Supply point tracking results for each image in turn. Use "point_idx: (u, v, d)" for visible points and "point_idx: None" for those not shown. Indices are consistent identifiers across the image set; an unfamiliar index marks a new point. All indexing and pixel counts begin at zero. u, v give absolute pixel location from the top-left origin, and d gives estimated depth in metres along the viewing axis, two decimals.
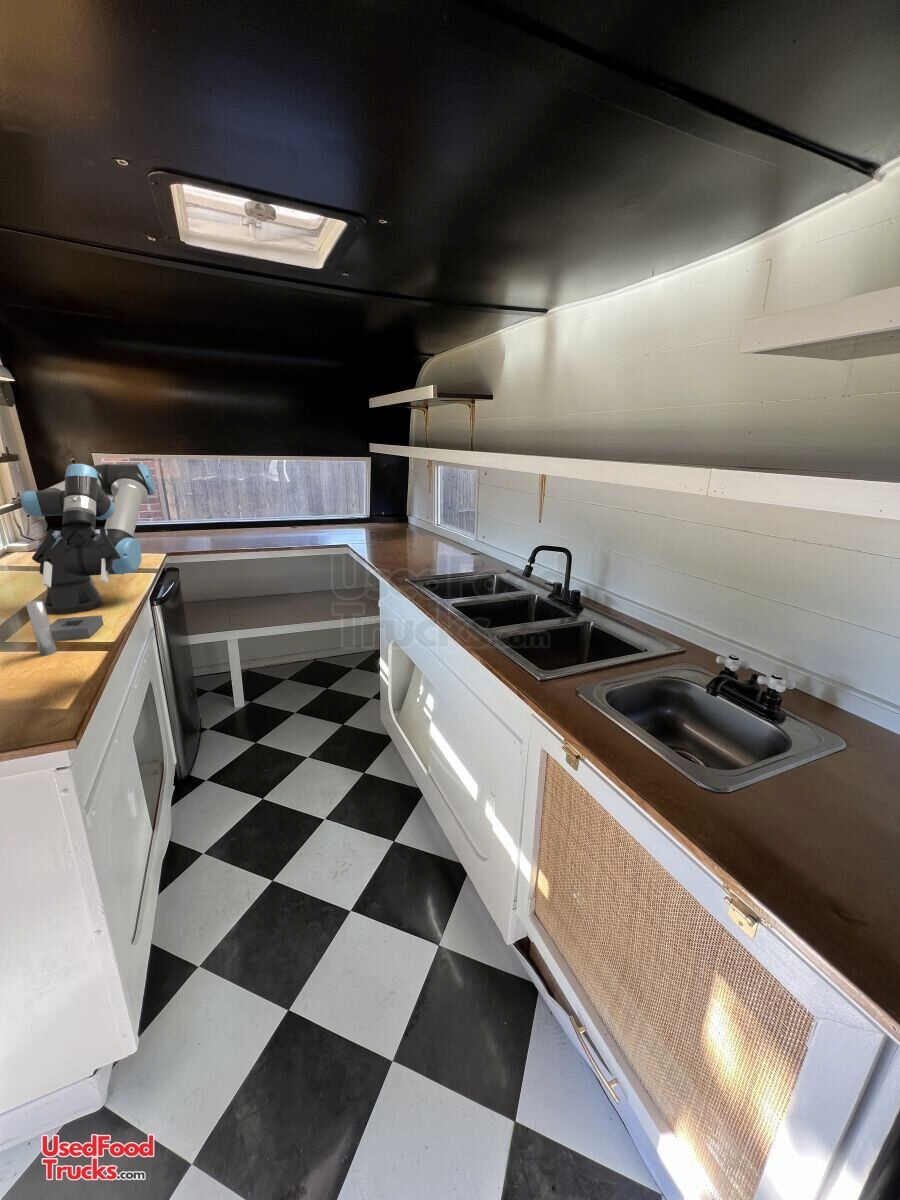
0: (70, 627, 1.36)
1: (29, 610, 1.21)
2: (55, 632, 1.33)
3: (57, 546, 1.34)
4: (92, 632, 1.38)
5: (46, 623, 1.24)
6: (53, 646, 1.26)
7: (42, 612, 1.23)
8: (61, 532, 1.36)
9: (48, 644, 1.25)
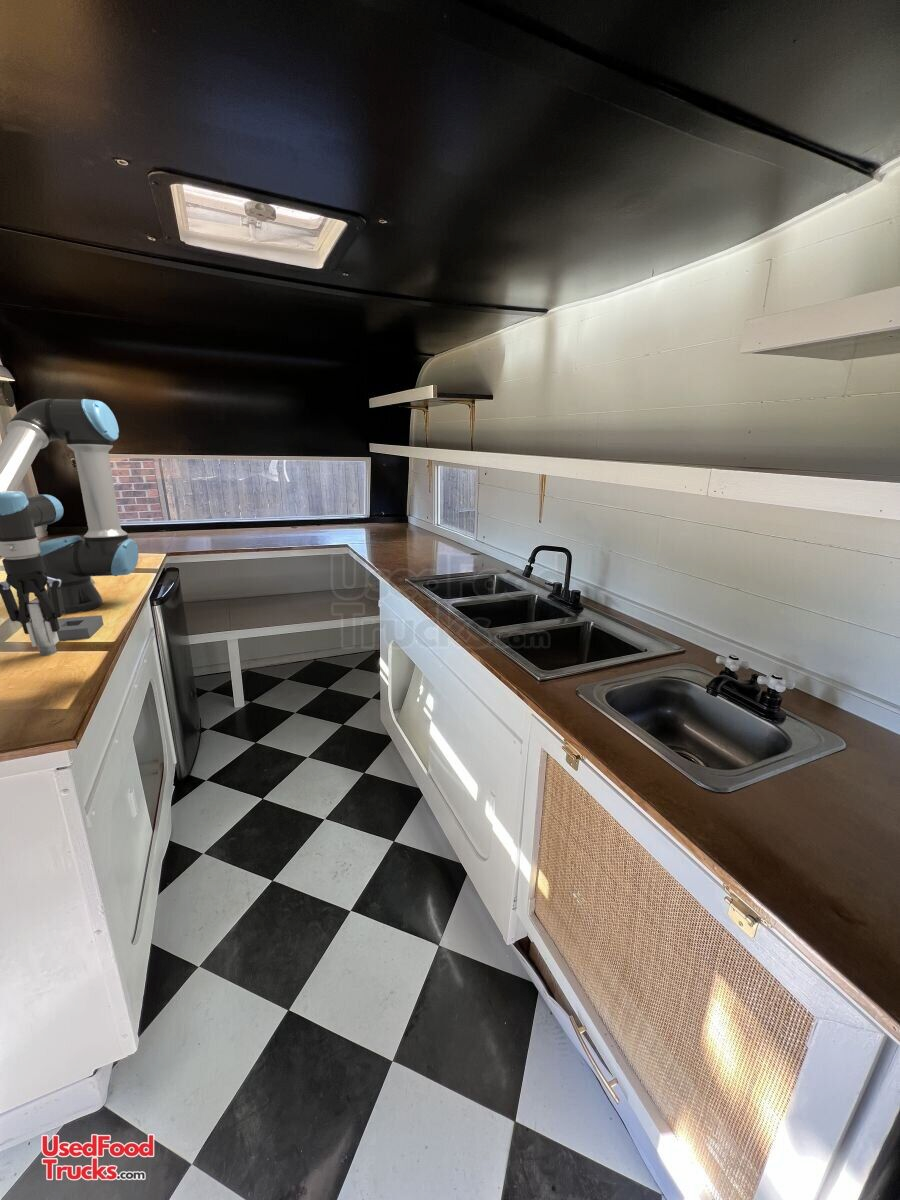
0: (70, 627, 1.36)
1: (29, 610, 1.21)
2: None
3: (21, 601, 1.21)
4: (92, 632, 1.38)
5: None
6: (53, 646, 1.26)
7: (42, 612, 1.23)
8: (9, 582, 1.19)
9: (48, 644, 1.25)
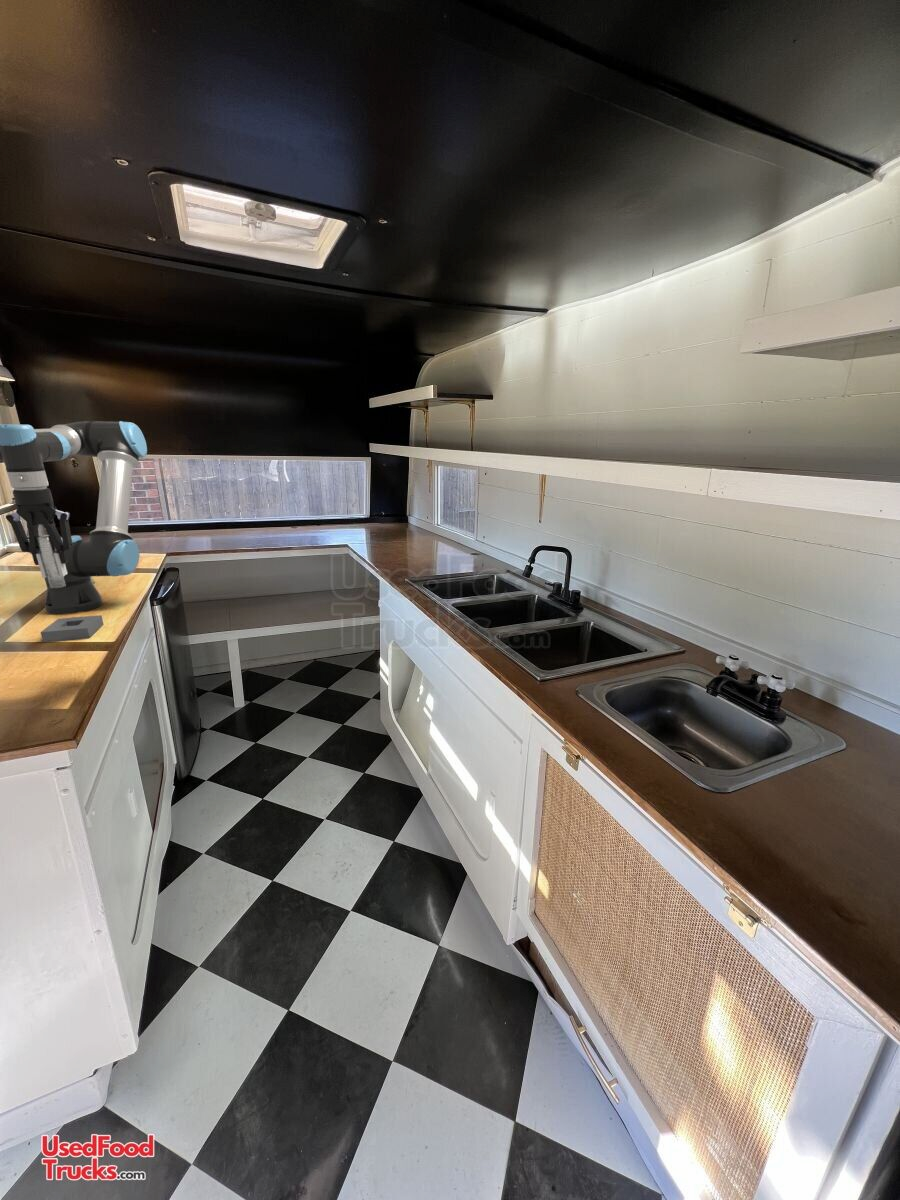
0: (70, 627, 1.36)
1: (39, 543, 1.27)
2: (55, 632, 1.33)
3: (31, 532, 1.26)
4: (92, 632, 1.38)
5: None
6: (62, 579, 1.32)
7: (51, 546, 1.29)
8: (19, 513, 1.24)
9: (58, 577, 1.31)
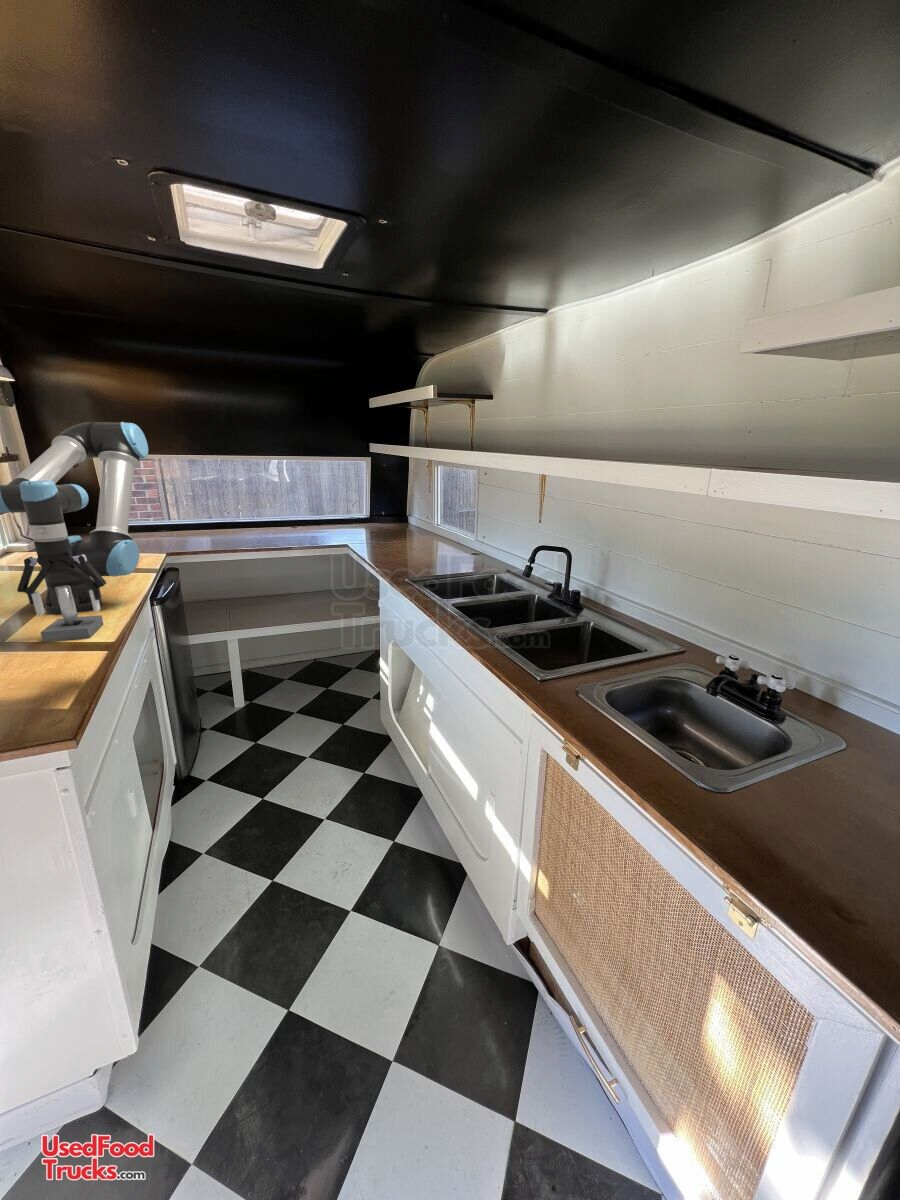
0: (70, 627, 1.36)
1: (58, 594, 1.34)
2: (55, 632, 1.33)
3: (39, 577, 1.32)
4: (92, 632, 1.38)
5: (73, 606, 1.37)
6: None
7: (69, 596, 1.36)
8: (38, 562, 1.31)
9: None
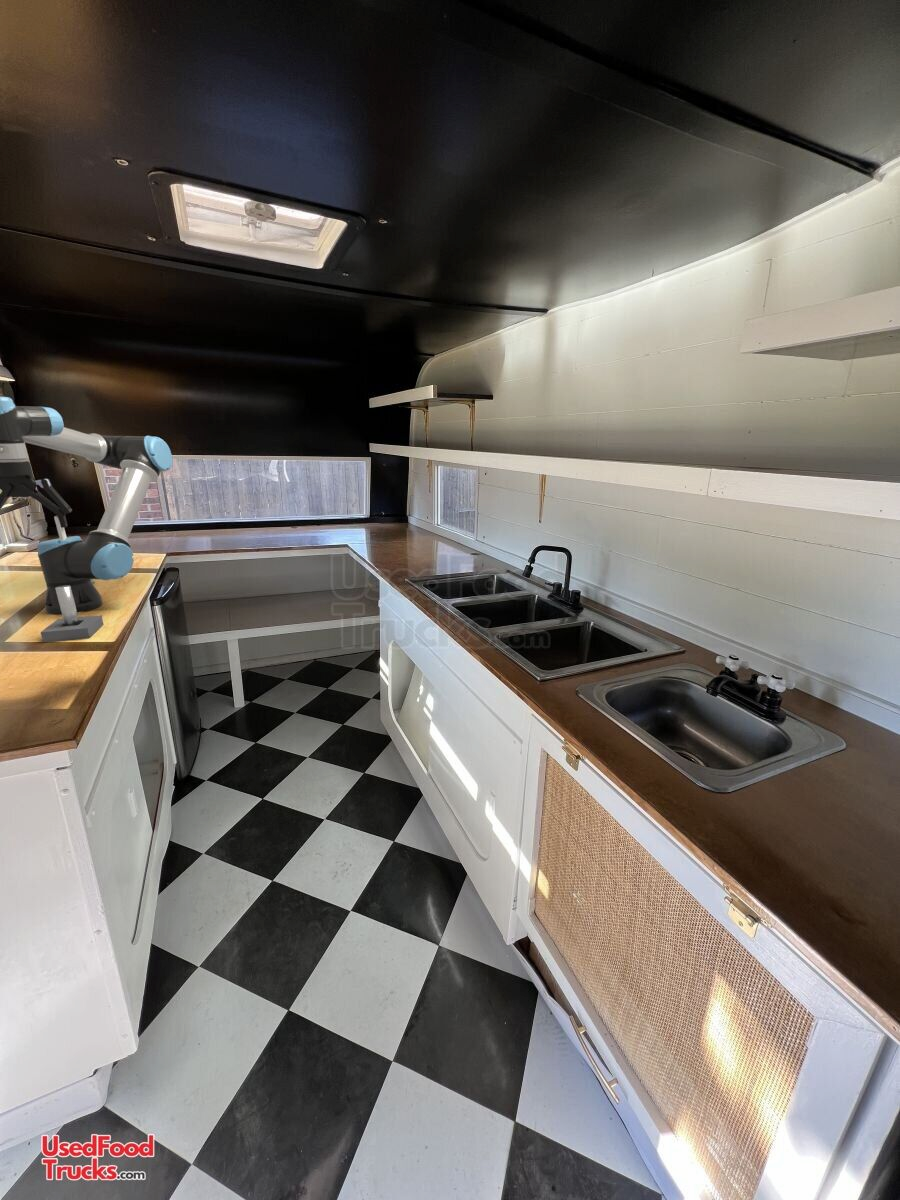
0: (70, 627, 1.36)
1: (58, 594, 1.34)
2: (55, 632, 1.33)
3: None
4: (92, 632, 1.38)
5: (73, 606, 1.37)
6: None
7: (69, 596, 1.36)
8: None
9: None
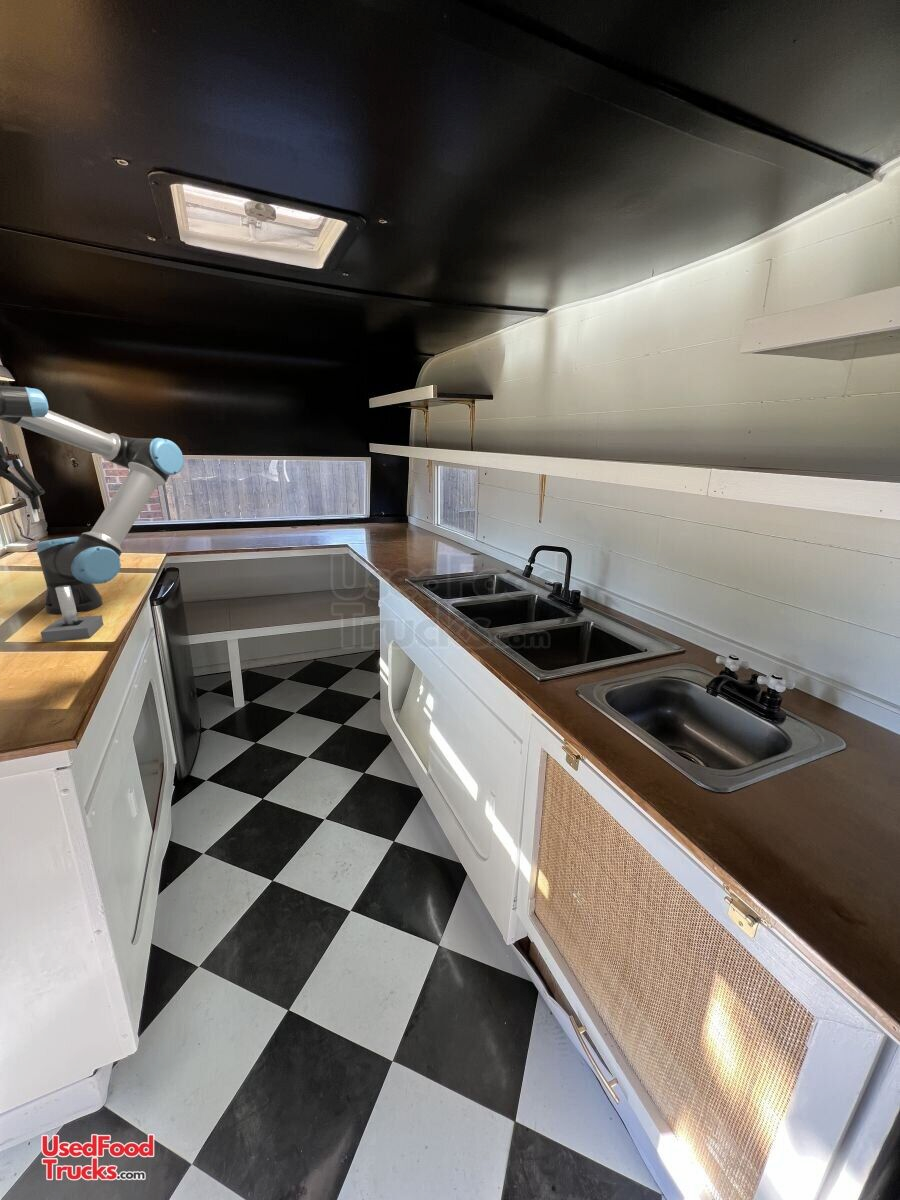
0: (70, 627, 1.36)
1: (58, 594, 1.34)
2: (55, 632, 1.33)
3: None
4: (92, 632, 1.38)
5: (73, 606, 1.37)
6: None
7: (69, 596, 1.36)
8: None
9: None
